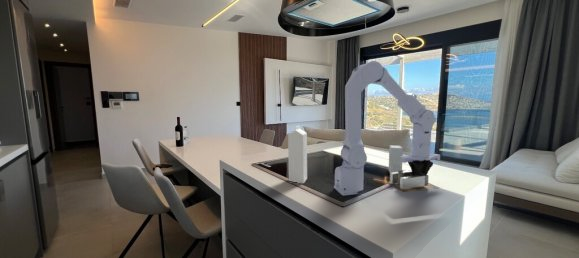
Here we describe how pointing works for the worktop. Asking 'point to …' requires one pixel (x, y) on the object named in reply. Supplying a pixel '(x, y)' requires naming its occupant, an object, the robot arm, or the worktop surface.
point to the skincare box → (395, 158)
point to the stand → (397, 185)
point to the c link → (409, 179)
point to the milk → (297, 155)
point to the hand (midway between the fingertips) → (419, 180)
